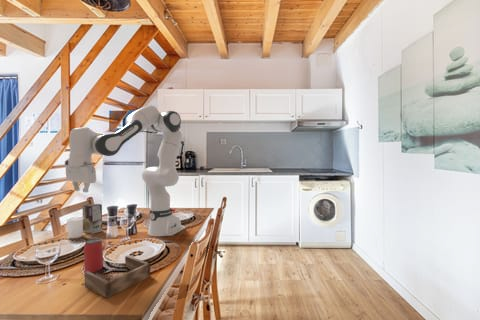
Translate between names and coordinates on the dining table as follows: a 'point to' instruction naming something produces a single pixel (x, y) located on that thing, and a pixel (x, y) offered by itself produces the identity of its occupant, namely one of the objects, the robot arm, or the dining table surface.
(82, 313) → the dining table surface
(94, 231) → the coffee box
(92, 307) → the dining table surface
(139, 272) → the walnut corral
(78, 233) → the white cup
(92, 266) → the beer can
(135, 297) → the dining table surface
